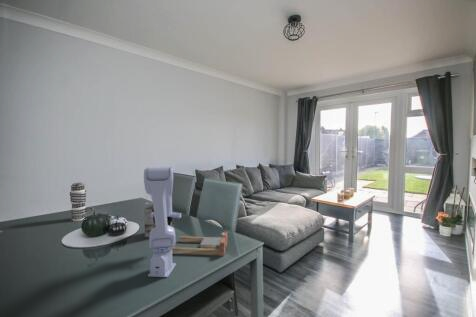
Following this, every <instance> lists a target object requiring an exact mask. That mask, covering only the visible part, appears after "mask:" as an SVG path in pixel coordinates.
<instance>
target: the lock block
mask: <svg viewBox="0 0 476 317" xmlns="http://www.w3.org/2000/svg"><path fill="white" fill-rule="evenodd" d="M203 237H204V239H203V240H202V242H201V243H199V244H200V247H199V248H211V249H220V242H221V239H222V237H220V238H211V237H212V236H203Z"/></svg>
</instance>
